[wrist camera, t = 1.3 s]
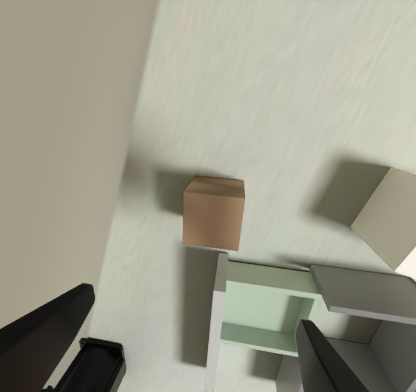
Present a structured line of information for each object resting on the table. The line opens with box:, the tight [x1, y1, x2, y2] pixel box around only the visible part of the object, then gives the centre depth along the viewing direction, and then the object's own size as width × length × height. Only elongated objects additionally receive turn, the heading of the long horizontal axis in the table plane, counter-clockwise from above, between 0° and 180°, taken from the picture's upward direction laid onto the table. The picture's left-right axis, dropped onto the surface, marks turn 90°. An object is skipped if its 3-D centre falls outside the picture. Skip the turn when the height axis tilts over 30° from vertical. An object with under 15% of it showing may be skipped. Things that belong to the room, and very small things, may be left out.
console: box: [276, 264, 416, 392], centre depth 22 cm, size 9×20×5 cm, turn 177°
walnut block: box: [183, 176, 245, 251], centre depth 18 cm, size 4×4×4 cm
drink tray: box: [204, 253, 322, 392], centre depth 23 cm, size 10×20×5 cm, turn 177°
